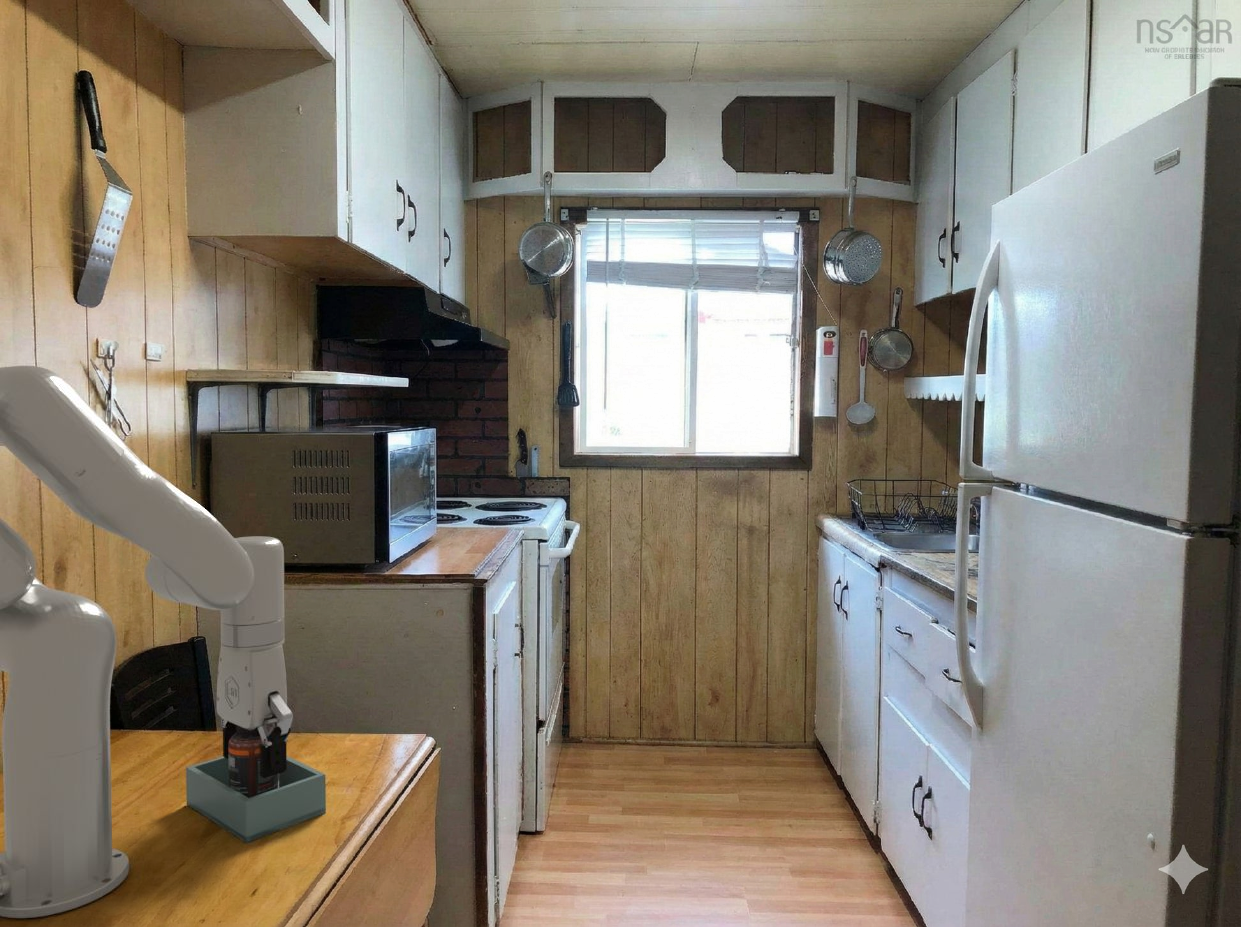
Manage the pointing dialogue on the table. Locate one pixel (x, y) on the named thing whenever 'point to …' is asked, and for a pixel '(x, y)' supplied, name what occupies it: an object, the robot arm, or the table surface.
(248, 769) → the supplement bottle
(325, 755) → the table surface
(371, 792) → the table surface
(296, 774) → the box
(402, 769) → the table surface
